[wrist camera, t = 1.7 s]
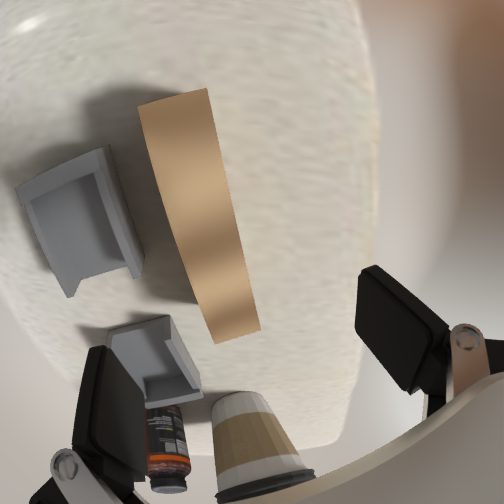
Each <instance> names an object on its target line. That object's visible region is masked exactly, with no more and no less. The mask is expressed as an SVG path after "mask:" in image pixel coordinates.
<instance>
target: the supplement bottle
mask: <svg viewBox="0 0 504 504" xmlns="http://www.w3.org/2000/svg"><path fill="white" fill-rule="evenodd" d="M145 433H146V451H147V465H148V474H147V475H146V476H148V477H149V478H150V479H151V480H150V484H151V489H152V491H154V492H157V493H164V494H173V493H181V492H184V491H187V486H186V481H185V477H186V476H187V475H188V474H189V473H190V472H191V464H190V458H189V454H188V449H187V444H186V438H185V432H184V426H183V420H182V415H181V412H180V411H179V409H177V408H176V407H175V406H172V405H168V406H163V407H157V408H152V409H147V408H146V407H145Z"/></svg>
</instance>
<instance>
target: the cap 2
mask: <svg viewBox="0 0 504 504" xmlns="http://www.w3.org/2000/svg"><path fill="white" fill-rule="evenodd" d="M106 347H107V348H110V349H112V351H113V352H114V354H115V355H116V356H117V358H118V359H119V361H120V362H121V363H122V365H123V366H124V368H125V369H126V370H127V372H128V373H129V374H130V376H131V377H132V378H133V380H134V381H135V382H136V383H137V385H138V386H139V387H140V388H141V390H142V391H143V393H144V397H145V407H146V408H147V409H152V408H157V407H163V406H168V405H174V404H179V403H183V402H188V401H193V400H197V399H201V398H204V396H203V391H202V386H201V381H200V375H199V371H198V370H197V368H196V366H195V364H194V362H193V360H192V358H191V356H190V355H189V353H188V351H187V349H186V347H185V345H184V343H183V341H182V339H181V337H180V335H179V333H178V331H177V329H176V326H175V324H174V322H173V320H172V318H171V316H170V315H169V316H165V317H161V318H157V319H153V320H149V321H146V322H142V323H138V324H134V325H130V326H126V327H122V328H117V329H113V330H109V332H108V337H107V342H106Z"/></svg>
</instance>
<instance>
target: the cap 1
mask: <svg viewBox="0 0 504 504" xmlns="http://www.w3.org/2000/svg"><path fill="white" fill-rule="evenodd" d="M15 189H16V192H17V195H18V198H19V201H20V204H21V205H23V204H24V206H25V208H26V211H27V214H28V217H29V219H30V222H31V224H32V227H33V229H34V232H35V234H36V236H37V239H38V241H39V243H40V246H41V248H42V250H43V252H44V254H45V256H46V259H47V261H48V263H49V265H50V267H51V269H52V271H53V273H54V275H55V276H56V278H57V280H58V282H59V284H60V286H61V288H62V289H63V291H64V293H65V295H66V297H67V298H70V297H73V296H74V294H75V292H76V290H77V288H78V285H79V283H80V281H81V280H82V279H86V278H89V277H92V276H95V275H99V274H102V273H105V272H108V271H112V270H115V269H118V268H121V267H125V266H128V268H129V270H130V273H131V275H132V277H133V279H135V278H138V277H141V276H142V269H143V263H144V258H145V255H144V252H143V250H142V247H141V244H140V242H139V239H138V236H137V234H136V231H135V228H134V225H133V222H132V219H131V216H130V214H129V211H128V208H127V205H126V201H125V198H124V195H123V192H122V189H121V186H120V182H119V179H118V175H117V172H116V168H115V165H114V161H113V158H112V154H111V150H110V146H109V145H107V146H104V147H101V148H98V149H95V150H92V151H90V152H88V153H85V154H83V155H80V156H78V157H76V158H73V159H71V160H69V161H67V162H65V163H62V164H60V165H58V166H56V167H54V168H52V169H50V170H48V171H46V172H44V173H42V174H40V175H38V176H36V177H34V178H32V179H30V180H29V181H27V182H25V183H23V184H21V185H20V186H18V187H16V188H15Z"/></svg>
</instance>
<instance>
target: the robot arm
mask: <svg viewBox="0 0 504 504" xmlns="http://www.w3.org/2000/svg"><path fill="white" fill-rule="evenodd" d="M448 328H449V325H447V324H446V323H445V322H444V321H443V320H442V319H441V318H440V317H439V316H438V315H436V314H435V313H434V312H433V311H432V310H431V309H429V307H427V306H426V305H425V304H424V303H423V302H422V301H420V300H419V299H418V298H417V297H416V296H415V295H413V294H412V293H411V292H410V291H409V290H407V289H406V288H405V287H404V286H403V285H401V284H400V283H399V282H398V281H396V280H395V279H394V278H393V277H392V276H390V275H389V274H388V273H386V272H385V271H384V270H383V269H382V268H380V267H379V266H378V265H373V266H370V267H367V268H365V269H363V270H362V271H361V274H360V275H359V276H358V289H357V304H356V316H355V330H356V333H357V334H358V336H359V337H360V338H361V339H362V340H363V342H364V343H365V344H366V345H367V347H368V348H369V349H370V350H371V352H372V353H373V354H374V355H375V357H376V358H377V359H378V360H379V362H380V363H381V364H382V365H383V367H384V368H385V369H386V370H387V371H388V373H389V374H390V376H391V377H392V378H393V379H394V381H395V382H396V383H397V384H398V386H399V387H400V388H401V389H402V390H403V391H407V392H408V393H409V395H411V394H413V393H415V392H416V391H418V390H419V389H422V391H423V392H424V405H423V416H422V422H421V423H420V424H418V425H416V426H415V427H413V428H412V429H410V430H409V431H407V432H406V433H404V434H403V435H401V436H399V437H398V438H396V439H394V440H393V441H391V442H389V443H388V444H386V445H384V446H383V447H381V448H379V449H377V450H375V451H374V452H372V453H370V454H368V455H366V456H364V457H362V458H360V459H358V460H356V461H354V462H352V463H350V464H348V465H346V466H344V467H341V468H339V469H337V470H334V471H332V472H330V473H327V474H325V475H323V476H320V477H318V478H315V479H312V480H310V481H307V482H304V483H301V484H298V485H295V486H292V487H289V488H286V489H283V490H280V491H276V492H273V493H269V494H266V495H262V496H258V497H254V498H249V499H245V500H240V501H235V502H230V503H225V504H504V340H492V339H484V337H483V334H482V333H481V332H480V330H479V329H478V328H476V327H475V326H473V325H470V324H459V325H457V326H455V327H454V328H453V329H452V331H450V330H449V329H448ZM50 469H51V474H52V477H51V478H50V479H49V480H48V481H47V482H46V483H45V484H44V485H43V486H42V487H41V488H40V489H39V490H38V491H37V492H36V493H35V494H34V495H33V496H32V497H31V499H30V501H29V504H149V503H148V502H147V501H146V500H145V499H144V498H143V497H142V496H141V495H140V494H139V493H138V492H137V491H136V490H135V489H134V482H145V475H147V474H148V465H147V451H146V433H145V397H144V393H143V391H142V390H141V388H140V387H139V386H138V385H137V383H136V382H135V381H134V380H133V378H132V377H131V376H130V374H129V373H128V372H127V370H126V369H125V368H124V366H123V365H122V363H121V362H120V361H119V359H118V358H117V356H116V355H115V354H114V352H113V351H112V349H110V348H107V347H106V346H105V345H101V346H96V347H92V348H90V349H89V352H88V355H87V360H86V364H85V368H84V372H83V377H82V382H81V387H80V392H79V397H78V403H77V409H76V415H75V421H74V429H73V437H72V450H71V449H67V448H65V449H61V450H59V451H57V452H56V453H55V454H54V456H53V458H52V460H51V464H50Z"/></svg>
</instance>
